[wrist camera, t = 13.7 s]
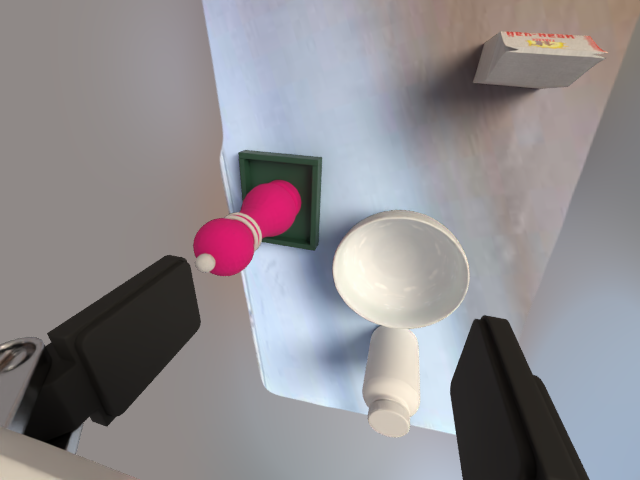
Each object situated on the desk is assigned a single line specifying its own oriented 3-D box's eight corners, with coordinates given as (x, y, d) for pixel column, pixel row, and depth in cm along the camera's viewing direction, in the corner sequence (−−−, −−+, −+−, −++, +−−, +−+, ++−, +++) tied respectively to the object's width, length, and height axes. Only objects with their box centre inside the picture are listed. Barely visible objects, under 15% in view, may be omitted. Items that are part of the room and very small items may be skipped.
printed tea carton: (541, 88, 31) (593, 84, 22) (472, 82, 32) (497, 77, 23) (557, 47, 29) (621, 25, 20) (484, 42, 30) (515, 20, 22)
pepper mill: (254, 179, 43) (152, 233, 26) (299, 173, 41) (220, 228, 24) (266, 224, 46) (182, 300, 29) (309, 220, 44) (245, 301, 26)
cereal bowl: (467, 198, 37) (479, 217, 31) (454, 303, 44) (462, 336, 38) (338, 199, 42) (326, 216, 36) (344, 294, 49) (335, 323, 43)
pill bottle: (364, 324, 50) (350, 403, 37) (411, 319, 47) (413, 403, 34) (377, 358, 53) (368, 443, 40) (423, 355, 50) (429, 446, 37)
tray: (245, 150, 42) (238, 152, 40) (322, 157, 40) (318, 160, 38) (251, 233, 48) (245, 239, 47) (318, 244, 46) (314, 250, 44)
